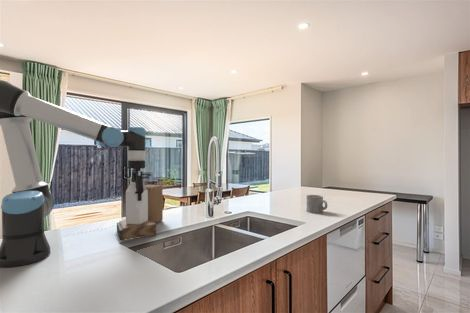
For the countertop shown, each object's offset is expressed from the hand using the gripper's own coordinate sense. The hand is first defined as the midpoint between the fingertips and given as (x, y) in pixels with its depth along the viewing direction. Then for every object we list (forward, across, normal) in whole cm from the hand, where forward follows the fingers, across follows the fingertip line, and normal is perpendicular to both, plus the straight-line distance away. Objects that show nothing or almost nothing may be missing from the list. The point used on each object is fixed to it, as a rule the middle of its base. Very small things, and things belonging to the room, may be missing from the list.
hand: (136, 205), depth 121 cm
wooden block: (+13, +16, -9) cm, 23 cm away
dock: (+13, 0, 0) cm, 13 cm away
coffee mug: (+12, -12, -106) cm, 108 cm away
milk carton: (+8, 0, 0) cm, 8 cm away
